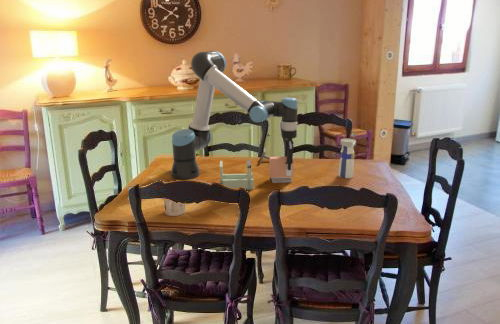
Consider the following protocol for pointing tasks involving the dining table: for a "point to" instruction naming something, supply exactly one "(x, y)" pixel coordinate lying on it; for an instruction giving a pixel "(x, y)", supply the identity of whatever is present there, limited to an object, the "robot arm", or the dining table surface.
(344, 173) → the water bottle
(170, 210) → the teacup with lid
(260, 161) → the toilet paper hanger
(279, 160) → the pink cube
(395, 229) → the dining table surface
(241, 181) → the dispenser
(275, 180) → the tray
